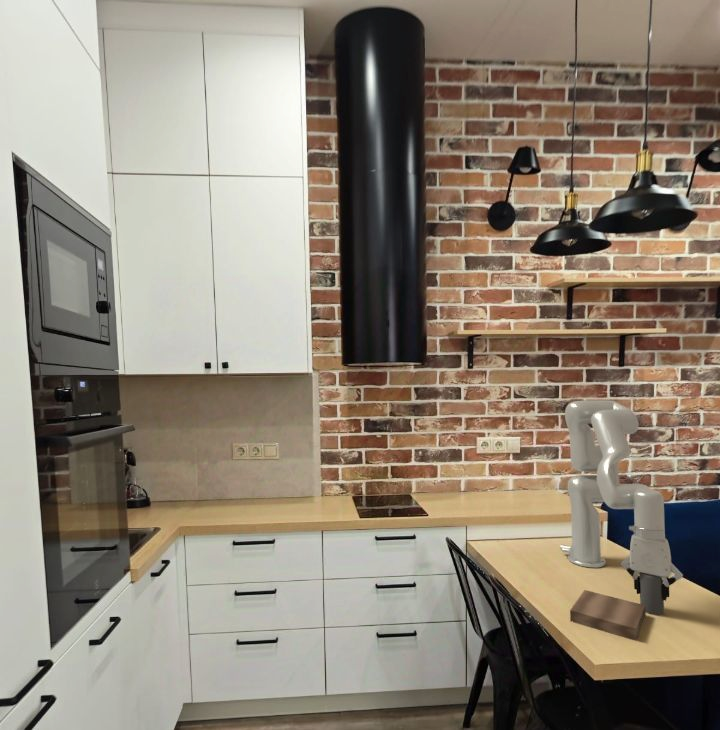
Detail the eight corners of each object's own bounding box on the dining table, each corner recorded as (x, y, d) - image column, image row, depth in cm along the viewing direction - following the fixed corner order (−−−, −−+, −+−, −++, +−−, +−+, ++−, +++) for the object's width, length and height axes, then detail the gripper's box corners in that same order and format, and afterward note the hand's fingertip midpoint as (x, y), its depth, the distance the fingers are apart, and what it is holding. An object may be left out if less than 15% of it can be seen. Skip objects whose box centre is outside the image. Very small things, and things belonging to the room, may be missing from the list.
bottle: (636, 605, 138) (634, 554, 139) (656, 605, 138) (654, 554, 138) (647, 615, 132) (646, 561, 133) (668, 615, 132) (666, 561, 132)
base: (570, 621, 129) (570, 610, 129) (584, 599, 142) (584, 589, 142) (636, 640, 119) (636, 628, 119) (645, 616, 132) (645, 605, 132)
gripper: (614, 530, 138) (615, 592, 138) (684, 542, 127) (686, 609, 127) (618, 524, 144) (620, 583, 143) (686, 535, 133) (688, 599, 133)
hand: (651, 594), depth 135 cm, fingers closed on bottle, 5 cm apart
